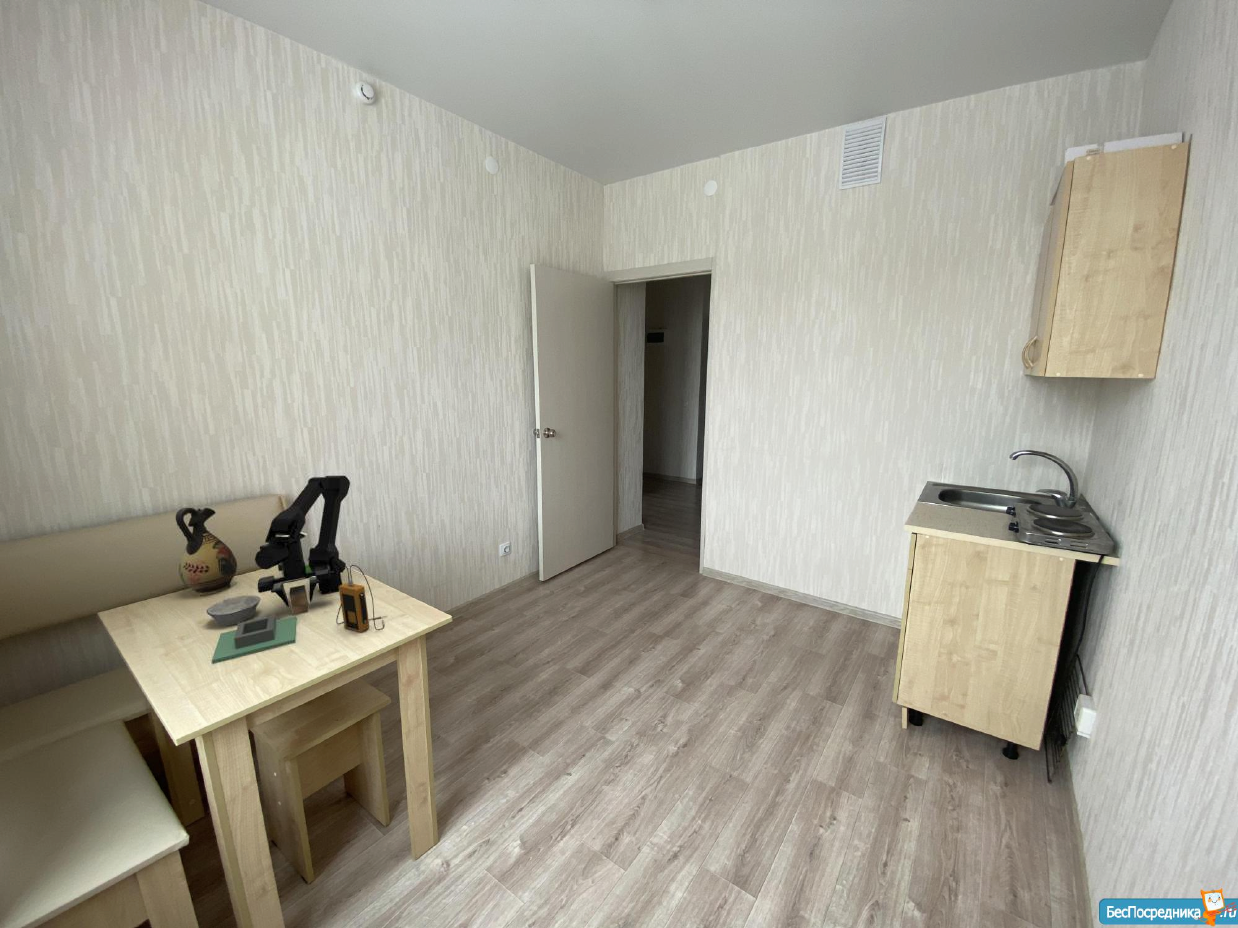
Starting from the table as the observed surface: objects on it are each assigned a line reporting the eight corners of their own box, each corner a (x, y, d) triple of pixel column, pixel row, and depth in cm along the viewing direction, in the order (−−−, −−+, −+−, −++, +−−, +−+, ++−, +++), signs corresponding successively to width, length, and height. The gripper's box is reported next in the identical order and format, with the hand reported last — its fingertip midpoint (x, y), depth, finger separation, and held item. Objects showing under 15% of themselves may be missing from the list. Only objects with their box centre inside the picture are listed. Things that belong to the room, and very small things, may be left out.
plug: (308, 605, 162) (304, 584, 161) (308, 612, 157) (304, 590, 156) (293, 608, 160) (289, 587, 159) (292, 615, 155) (289, 594, 154)
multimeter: (399, 619, 151) (391, 555, 147) (371, 635, 142) (361, 567, 138) (364, 610, 157) (356, 548, 153) (335, 626, 148) (325, 560, 144)
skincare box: (290, 582, 180) (283, 540, 177) (281, 579, 183) (274, 537, 180) (315, 574, 187) (308, 533, 184) (305, 570, 190) (299, 530, 187)
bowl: (198, 627, 150) (194, 611, 149) (239, 607, 162) (236, 593, 161) (232, 631, 147) (229, 615, 146) (272, 610, 159) (269, 595, 158)
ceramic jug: (213, 579, 185) (197, 499, 179) (251, 580, 183) (236, 499, 177) (166, 601, 168) (147, 513, 163) (207, 602, 166) (189, 513, 160)
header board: (296, 618, 153) (294, 606, 152) (295, 642, 139) (293, 629, 139) (221, 636, 144) (218, 623, 143) (212, 663, 130) (209, 649, 130)
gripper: (326, 542, 167) (332, 587, 170) (256, 555, 157) (265, 602, 160) (327, 552, 157) (334, 600, 160) (253, 566, 148) (262, 616, 151)
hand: (299, 604), depth 158 cm, fingers open, 6 cm apart
